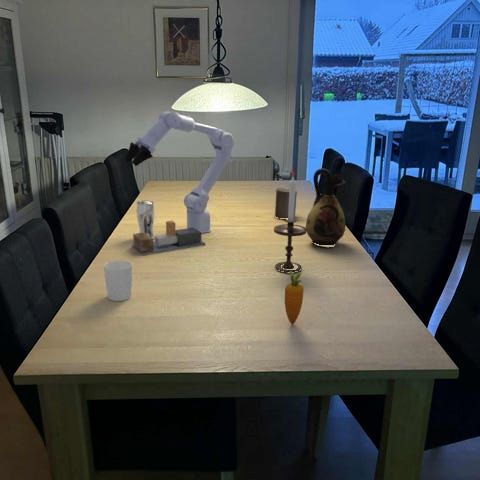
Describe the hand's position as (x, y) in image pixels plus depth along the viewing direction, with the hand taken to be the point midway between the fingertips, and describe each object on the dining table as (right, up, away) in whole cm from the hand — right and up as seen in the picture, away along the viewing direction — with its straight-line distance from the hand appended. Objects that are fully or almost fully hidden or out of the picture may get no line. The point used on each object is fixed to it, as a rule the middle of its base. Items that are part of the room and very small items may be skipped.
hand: (129, 162), depth 190 cm
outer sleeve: (+14, -32, +4) cm, 35 cm away
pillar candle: (+63, -19, +49) cm, 82 cm away
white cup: (+6, -46, -42) cm, 62 cm away
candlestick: (+58, -39, -17) cm, 72 cm away
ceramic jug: (+74, -31, +11) cm, 81 cm away
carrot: (+56, -52, -56) cm, 94 cm away
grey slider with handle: (+17, -30, +5) cm, 35 cm away
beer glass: (+4, -29, +13) cm, 32 cm away
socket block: (+5, -33, -1) cm, 33 cm away
